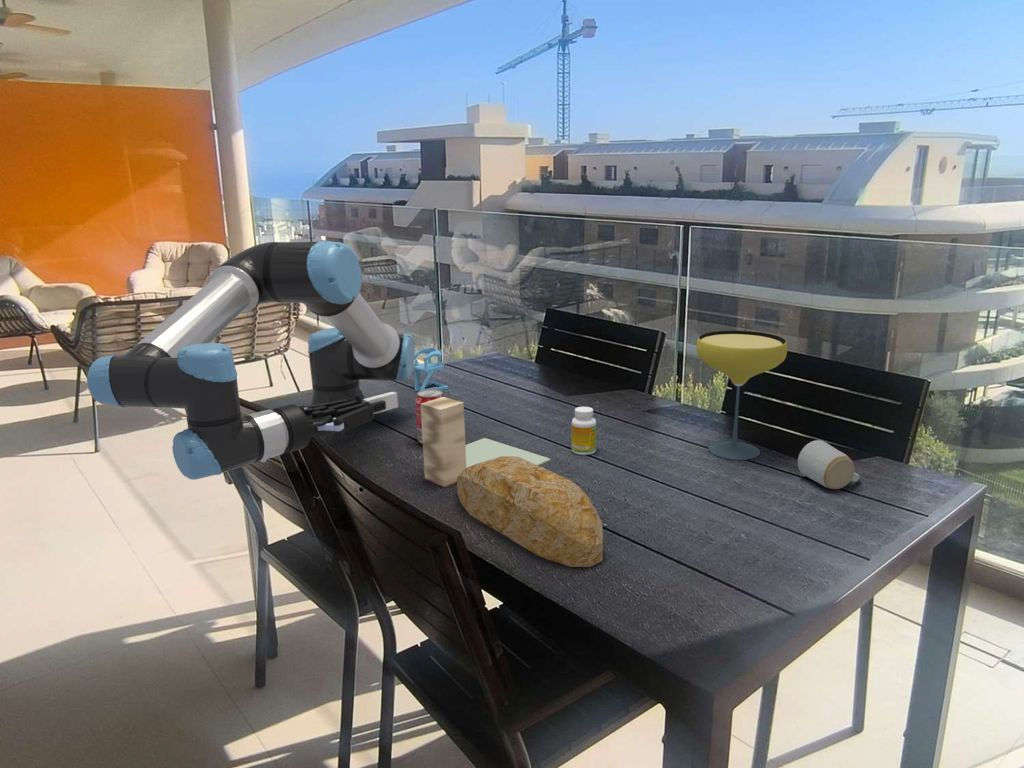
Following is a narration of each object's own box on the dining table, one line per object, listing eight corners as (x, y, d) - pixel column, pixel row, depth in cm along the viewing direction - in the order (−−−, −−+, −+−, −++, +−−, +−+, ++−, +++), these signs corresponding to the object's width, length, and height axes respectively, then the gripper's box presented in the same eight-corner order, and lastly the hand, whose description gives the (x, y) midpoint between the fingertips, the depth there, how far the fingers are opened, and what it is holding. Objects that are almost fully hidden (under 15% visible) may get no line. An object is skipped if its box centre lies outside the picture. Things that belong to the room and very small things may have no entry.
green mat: (432, 459, 155) (432, 457, 155) (484, 439, 166) (484, 437, 166) (498, 483, 142) (498, 481, 142) (550, 460, 153) (550, 458, 153)
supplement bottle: (594, 456, 155) (595, 413, 152) (570, 454, 156) (570, 412, 153) (597, 447, 160) (597, 405, 157) (573, 446, 161) (573, 404, 158)
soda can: (453, 439, 167) (451, 389, 164) (438, 449, 161) (435, 398, 158) (427, 435, 170) (424, 386, 167) (411, 445, 164) (408, 395, 160)
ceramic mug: (824, 494, 134) (828, 456, 132) (794, 478, 142) (798, 441, 140) (869, 487, 137) (874, 449, 135) (838, 471, 145) (842, 435, 143)
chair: (409, 390, 207) (406, 349, 204) (432, 384, 213) (430, 344, 209) (425, 395, 202) (422, 354, 199) (448, 389, 207) (446, 348, 204)
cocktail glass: (791, 449, 157) (802, 337, 150) (755, 474, 144) (764, 353, 137) (715, 431, 168) (722, 326, 162) (675, 452, 156) (680, 340, 149)
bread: (621, 553, 115) (622, 496, 112) (571, 577, 109) (571, 517, 106) (488, 484, 142) (487, 437, 140) (442, 499, 136) (440, 450, 133)
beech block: (424, 479, 145) (420, 403, 141) (447, 470, 149) (443, 396, 145) (444, 487, 141) (440, 409, 137) (466, 477, 145) (463, 402, 141)
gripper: (260, 444, 120) (375, 411, 137) (301, 463, 111) (418, 426, 128) (254, 401, 118) (372, 373, 135) (296, 417, 109) (416, 385, 126)
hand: (394, 399), depth 131 cm, fingers closed
